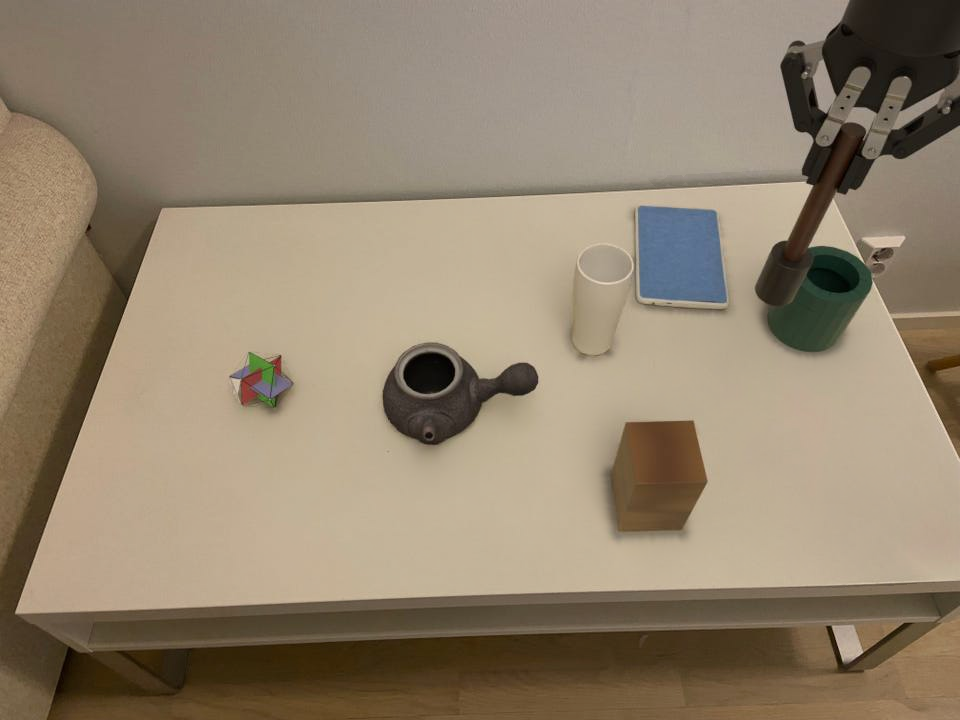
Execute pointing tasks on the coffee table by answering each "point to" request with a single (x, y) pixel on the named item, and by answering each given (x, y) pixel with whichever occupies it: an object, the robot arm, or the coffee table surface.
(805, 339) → the green hollow cylinder
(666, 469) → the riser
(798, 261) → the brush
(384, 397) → the teapot
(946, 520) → the coffee table surface
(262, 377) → the geometric puzzle
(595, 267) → the white tall cup
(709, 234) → the tablet
